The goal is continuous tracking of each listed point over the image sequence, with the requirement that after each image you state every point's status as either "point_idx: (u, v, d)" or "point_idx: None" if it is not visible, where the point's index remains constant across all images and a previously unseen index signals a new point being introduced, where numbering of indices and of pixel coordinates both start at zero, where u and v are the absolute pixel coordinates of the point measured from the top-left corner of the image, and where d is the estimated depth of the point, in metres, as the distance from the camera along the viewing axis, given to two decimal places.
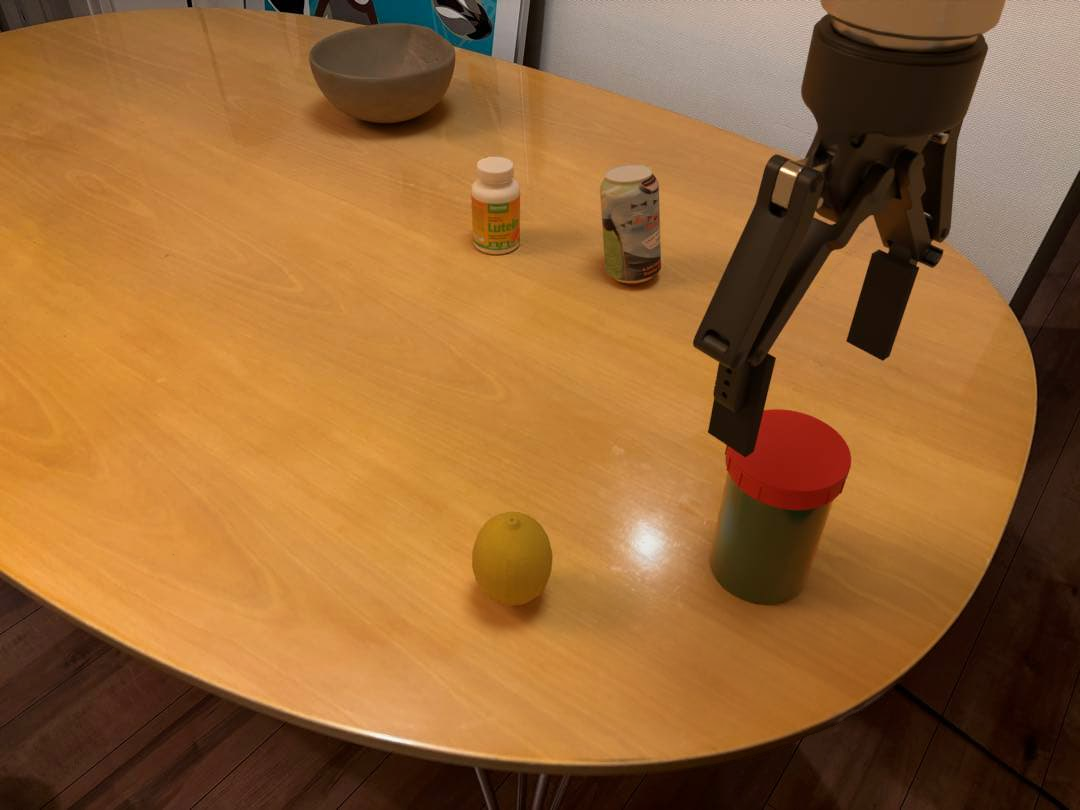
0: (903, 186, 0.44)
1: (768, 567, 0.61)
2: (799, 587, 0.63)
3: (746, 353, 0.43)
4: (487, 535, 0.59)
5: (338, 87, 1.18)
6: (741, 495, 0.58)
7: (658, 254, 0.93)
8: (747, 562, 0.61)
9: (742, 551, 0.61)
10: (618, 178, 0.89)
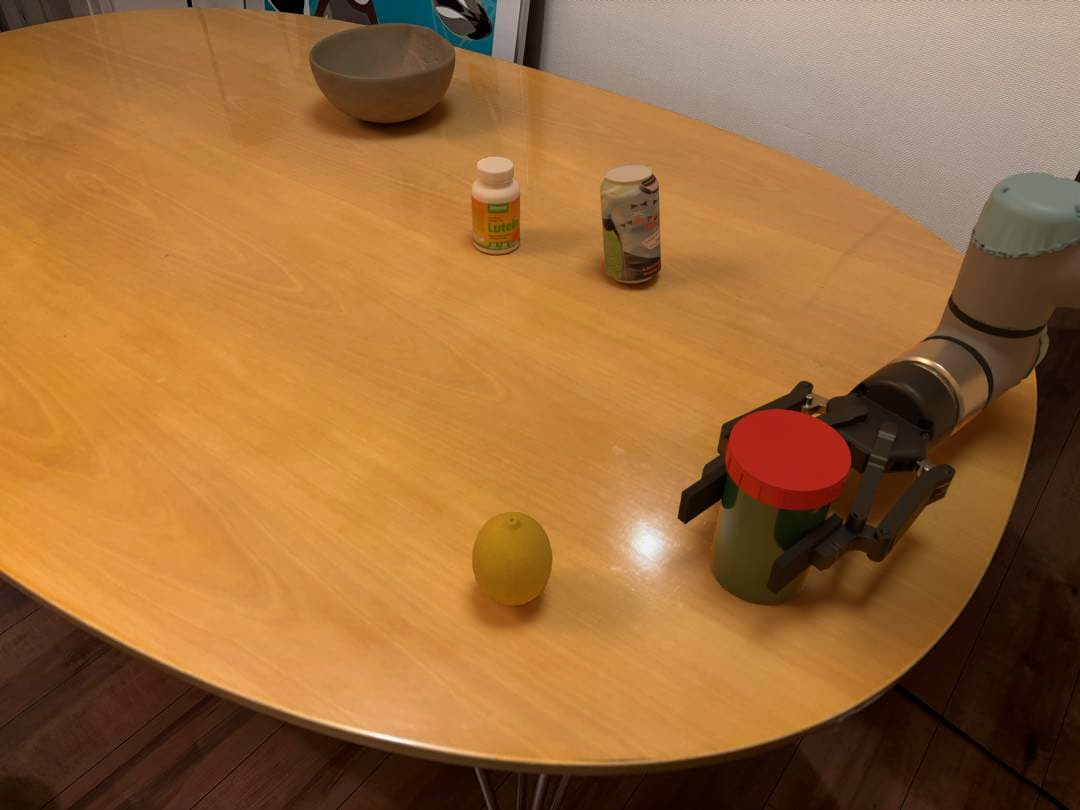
0: None
1: (768, 567, 0.61)
2: (799, 587, 0.63)
3: None
4: (487, 535, 0.59)
5: (338, 87, 1.18)
6: (741, 495, 0.58)
7: (658, 254, 0.93)
8: (747, 562, 0.61)
9: (742, 551, 0.61)
10: (618, 178, 0.89)
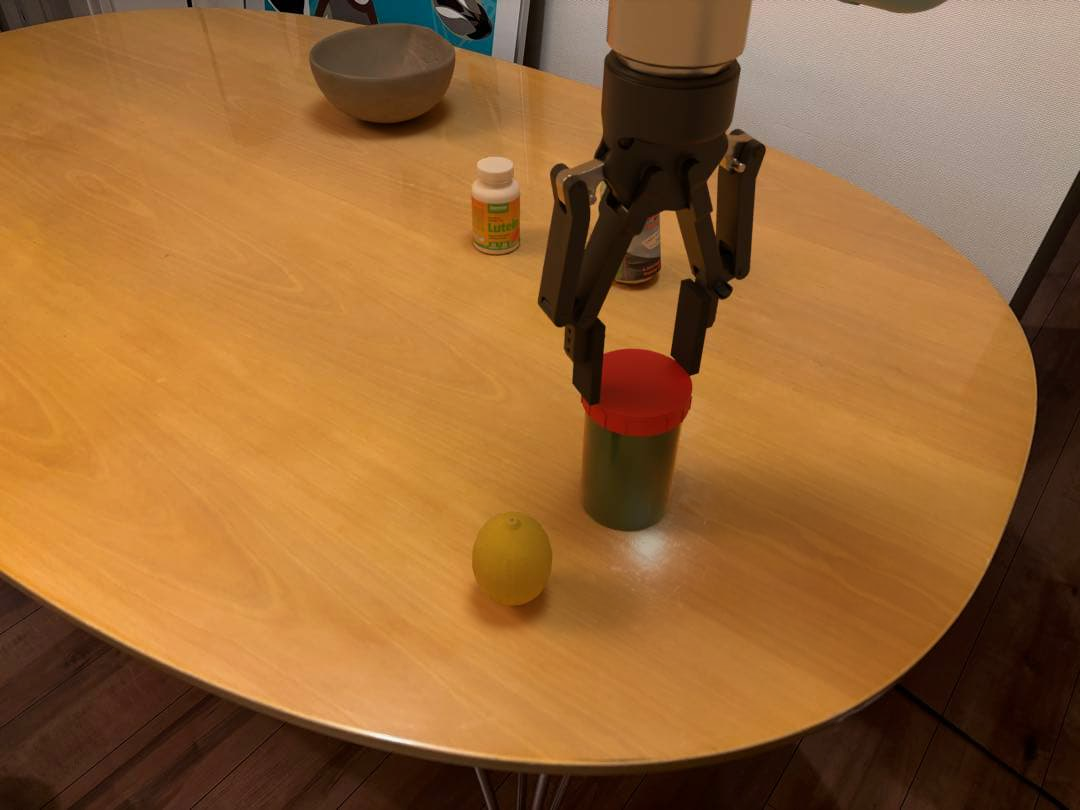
0: None
1: (623, 493, 0.66)
2: (658, 515, 0.68)
3: (569, 314, 0.55)
4: (487, 535, 0.59)
5: (338, 87, 1.18)
6: (593, 424, 0.64)
7: (658, 254, 0.93)
8: (605, 489, 0.66)
9: (600, 478, 0.66)
10: None
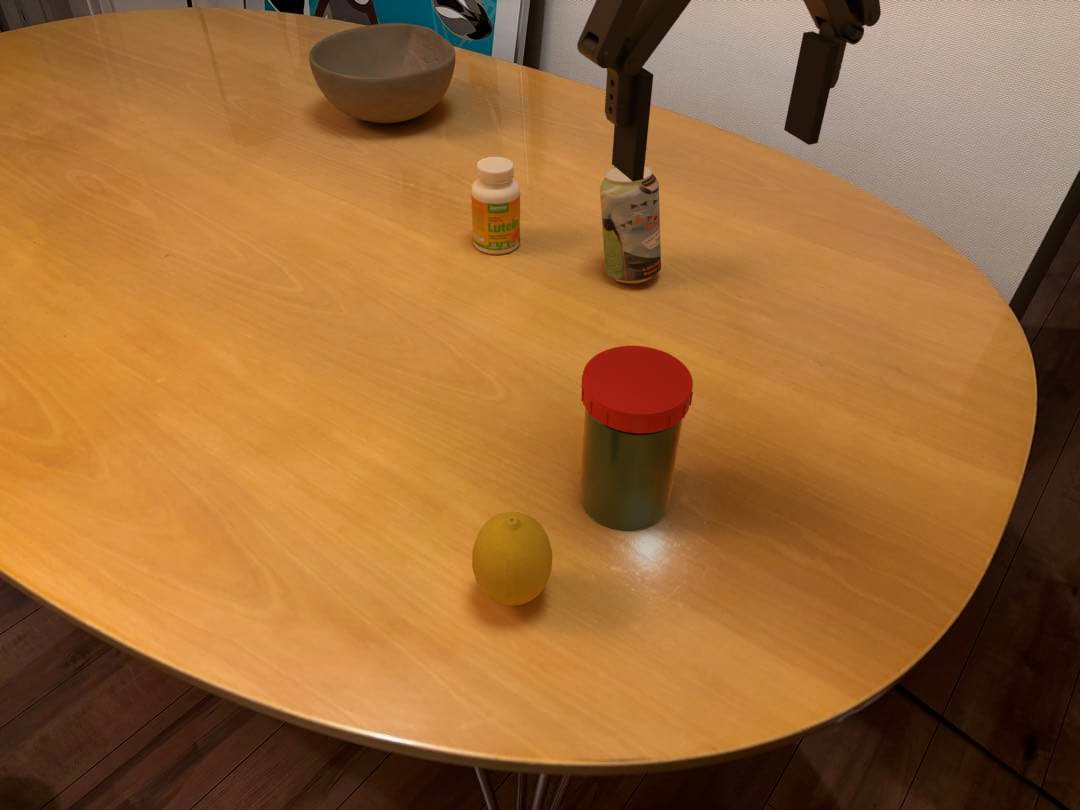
0: None
1: (623, 493, 0.66)
2: (657, 515, 0.68)
3: None
4: (487, 535, 0.59)
5: (338, 87, 1.18)
6: (593, 424, 0.64)
7: (658, 254, 0.93)
8: (605, 489, 0.66)
9: (599, 478, 0.66)
10: (618, 178, 0.89)
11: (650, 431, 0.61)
